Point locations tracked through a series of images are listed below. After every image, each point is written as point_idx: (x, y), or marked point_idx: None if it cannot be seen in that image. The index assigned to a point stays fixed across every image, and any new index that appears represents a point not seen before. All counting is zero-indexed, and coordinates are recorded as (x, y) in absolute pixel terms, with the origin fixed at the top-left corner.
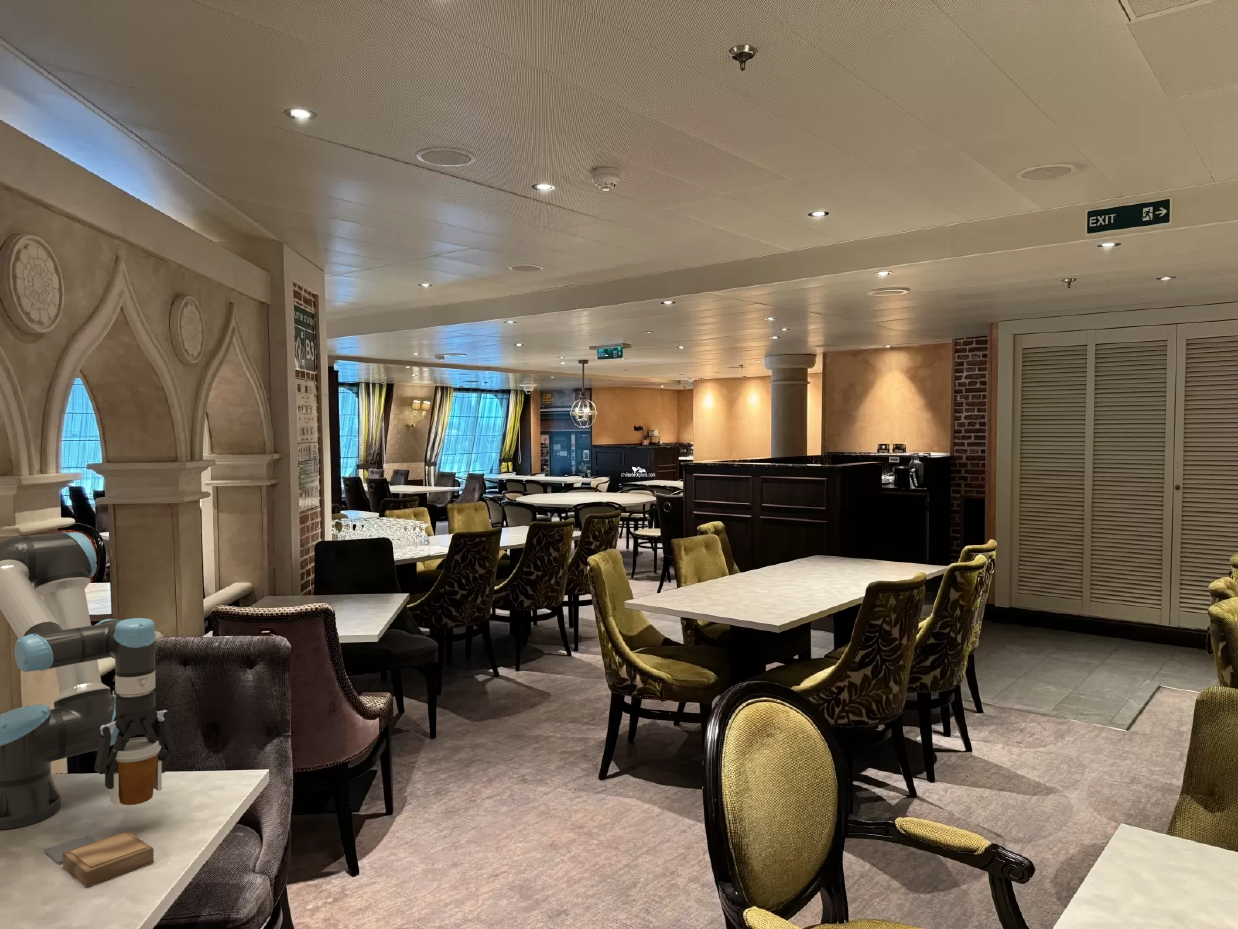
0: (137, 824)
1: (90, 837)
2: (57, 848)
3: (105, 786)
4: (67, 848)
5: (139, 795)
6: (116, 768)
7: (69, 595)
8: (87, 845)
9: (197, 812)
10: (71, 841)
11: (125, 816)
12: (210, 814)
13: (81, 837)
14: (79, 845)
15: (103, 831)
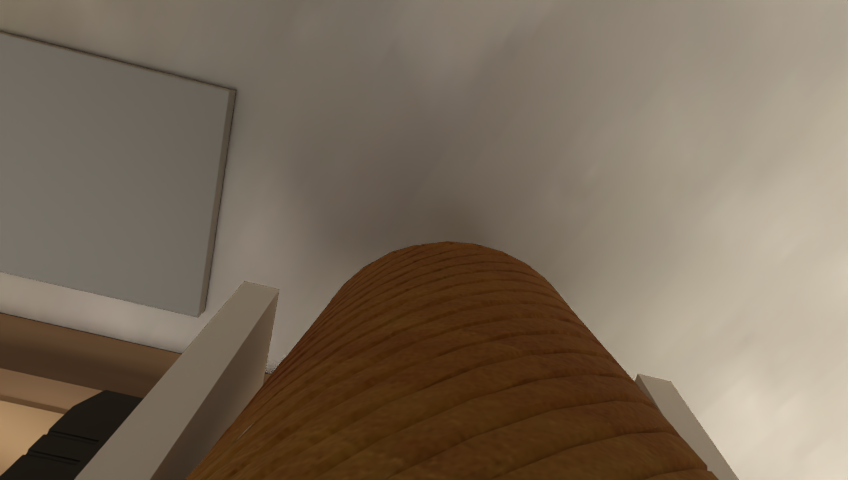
0: (501, 200)
1: (218, 143)
2: (29, 92)
3: (82, 408)
4: (67, 152)
5: None
6: None
7: None
8: (28, 411)
9: (754, 381)
10: (125, 80)
11: (559, 7)
12: (751, 461)
13: (188, 87)
14: (126, 184)
15: (341, 91)
